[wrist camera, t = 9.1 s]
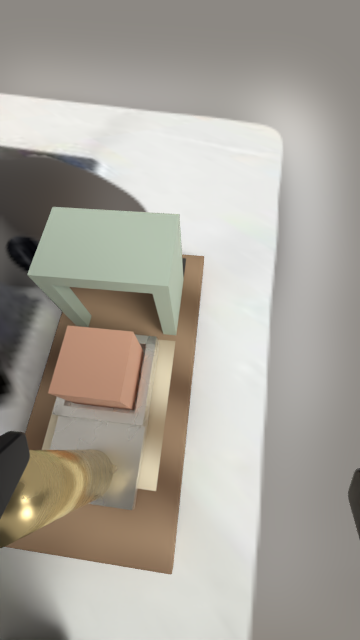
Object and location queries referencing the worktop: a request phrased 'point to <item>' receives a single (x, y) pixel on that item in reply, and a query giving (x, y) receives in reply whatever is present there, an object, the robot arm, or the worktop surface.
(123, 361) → the terracotta block
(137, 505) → the track board
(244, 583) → the worktop surface
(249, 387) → the worktop surface
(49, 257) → the tunnel
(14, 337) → the worktop surface
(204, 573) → the worktop surface
